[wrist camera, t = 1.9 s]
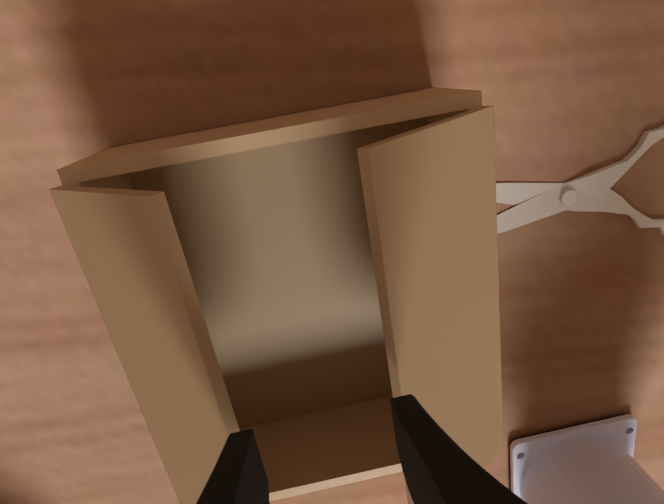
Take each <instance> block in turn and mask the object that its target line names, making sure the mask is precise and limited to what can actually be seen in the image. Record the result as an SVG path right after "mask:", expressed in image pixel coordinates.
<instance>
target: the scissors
mask: <svg viewBox="0 0 664 504" xmlns="http://www.w3.org/2000/svg"><path fill="white" fill-rule="evenodd" d="M663 137H664V124H663V125H662V126H661V127H659V128H656V129H652V130H649V131H645V132H643V134H642V136H641V138H640V139H639V141H638V143H637V145H636V146H635V147H634V148H633V149H632V150H631V152H630V153H629V154H628V155H627V156H626V157H625V158H624V159H623V160H621V161H618V162H615V163H613V164H610V165H607V166H605V167H602V168H600V169H597V170H595V171H592V172H590V173H587V174H585V175H583V176H580V177H578V178H575V179H573V180H570V181H568V182H565V183H496V203H503V204H519V205H517V206H515V207H513V208H511V209H509V210H507V211H505V212H502V213H500V214H498V215H497V234H499V233H502V232H505V231H508V230H511V229H514V228H517V227H520V226H523V225H525V224H528V223H531V222H534V221H537V220H540V219H543V218H546V217H548V216H551V215H554V214H557V213H560V212H563V211H566V210H570V211H580V212H609V213H617V214H626V215H627V216H629V217H631V219H632V221H633V222H634V224H635V225H636V227H638V228H654V227H657V228H658V229H659V231H660V232H661V234H662V236H663V237H664V218H659V219H651V218H649V217H647V216H645V215H643V214H642V213H640V212H638V211H637V210H636V209H634V208H633V207H631V206H630V205H629V204H628V203H627V202H626V201H625V199H624V198H623V197H621V196H620V195H618V194H617V193H615V192H614V191H613V190H611V189H610V188H611V187H612V186H613V185H614V184H615V183H616V182H617V181H618V180H619V179H620V178H621V177H622V176H623V175H624V174H625V173H626V172H627V171H628V169H629V168H630V167H631V166H632V165H633V164H634V163H635V162H636V161H637V160H638V159H639V158H640V157H641V156H642V155H643V154H644V153H645V152H646V151H647V150H648V149H649V148H650V147H651V146H652V145H653V144H654V143H656V142H657V141H658V140H660V139H661V138H663Z"/></svg>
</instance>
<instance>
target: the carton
mask: <svg viewBox="0 0 664 504" xmlns="http://www.w3.org/2000/svg"><path fill="white" fill-rule="evenodd" d="M479 107H482V94H481V91H478V90H463V89H448V88H427V89H422V90H416V91H411V92H406V93H400V94H395V95H389V96H384V97H379V98H373V99H368V100H363V101H357V102H352V103H346V104H341V105H336V106H330V107H325V108H319V109H314V110H309V111H303V112H298V113H292V114H287V115H282V116H276V117H271V118H265V119H260V120H255V121H249V122H244V123H239V124H233V125H228V126H222V127H217V128H212V129H206V130H201V131H195V132H190V133H185V134H179V135H174V136H168V137H163V138H158V139H152V140H147V141H141V142H136V143H131V144H125V145H120V146H115V147H110V148H107V149H105V150H103V151H100V152H98V153H96V154H93V155H91V156H89V157H86V158H84V159H82V160H79V161H77V162H74V163H72V164H70V165H67V166H65V167H63V168H60V169H58V170H57V172H58V174H59V177H60V179H61V182H62V184H63V186H77V187H94V188H111V189H129V190H146V191H163V192H164V193H165V196H166V200H167V203H168V206H169V209H170V212H171V215H172V218H173V222H174V225H175V228H176V231H177V234H178V237H179V241H180V244H181V247H182V250H183V253H184V256H185V259H186V263H187V266H188V269H189V272H190V275H191V278H192V282H193V285H194V288H195V291H196V294H197V297H198V300H199V304H200V307H201V310H202V313H203V316H204V319H205V323H206V326H207V329H208V332H209V335H210V338H211V341H212V345H213V348H214V351H215V354H216V357H217V360H218V364H219V367H220V370H221V373H222V376H223V379H224V382H225V386H226V389H227V392H228V395H229V398H230V401H231V405H232V408H233V411H234V414H235V417H236V420H237V423H238V427H239V430H240V431H244V430H248V429H252V430H253V433H254V436H255V439H256V443H257V446H258V449H259V453H260V456H261V459H262V463H263V466H264V469H265V472H266V476H267V479H268V484H269V501H274V500H278V499H282V498H287V497H291V496H296V495H300V494H305V493H309V492H313V491H318V490H322V489H327V488H331V487H335V486H340V485H344V484H349V483H353V482H357V481H362V480H366V479H371V478H375V477H379V476H384V475H388V474H393V473H397V472H401V471H403V470H402V466H401V463H400V459H399V456H398V452H397V445H396V438H395V431H394V425H393V418H392V411H391V404H390V398H393V395H392V388H391V381H390V374H389V367H388V360H387V353H386V346H385V339H384V332H383V326H382V319H381V312H380V305H379V298H378V291H377V284H376V277H375V270H374V263H373V256H372V250H371V243H370V236H369V229H368V222H367V215H366V208H365V201H364V194H363V187H362V180H361V174H360V167H359V160H358V153H357V149H358V148H361V147H364V146H366V145H369V144H372V143H375V142H378V141H381V140H384V139H387V138H390V137H393V136H396V135H399V134H402V133H405V132H408V131H411V130H414V129H417V128H420V127H423V126H426V125H429V124H432V123H435V122H438V121H441V120H444V119H447V118H450V117H453V116H456V115H458V114H461V113H464V112H467V111H470V110H473V109H476V108H479Z"/></svg>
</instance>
